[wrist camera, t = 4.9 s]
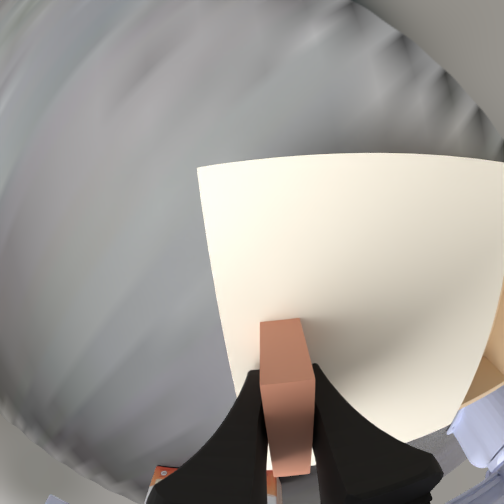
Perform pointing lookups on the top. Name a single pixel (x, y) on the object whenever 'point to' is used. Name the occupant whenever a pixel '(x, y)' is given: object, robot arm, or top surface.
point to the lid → (355, 285)
